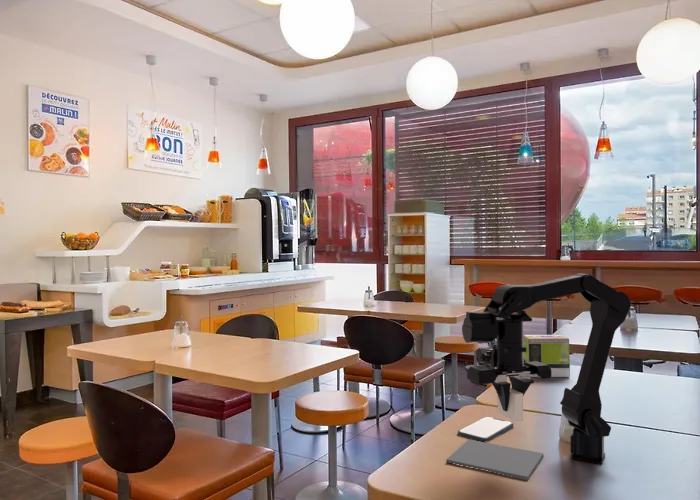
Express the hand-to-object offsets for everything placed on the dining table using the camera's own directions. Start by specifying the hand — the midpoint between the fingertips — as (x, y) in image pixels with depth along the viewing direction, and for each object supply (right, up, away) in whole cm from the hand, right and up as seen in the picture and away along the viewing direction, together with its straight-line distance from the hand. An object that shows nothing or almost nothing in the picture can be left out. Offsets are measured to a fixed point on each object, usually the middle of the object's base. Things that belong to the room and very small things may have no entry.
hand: (509, 410), depth 123 cm
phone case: (0, -13, +22) cm, 25 cm away
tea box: (+39, -12, +84) cm, 93 cm away
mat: (-3, -12, +2) cm, 12 cm away
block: (0, -1, 0) cm, 1 cm away
